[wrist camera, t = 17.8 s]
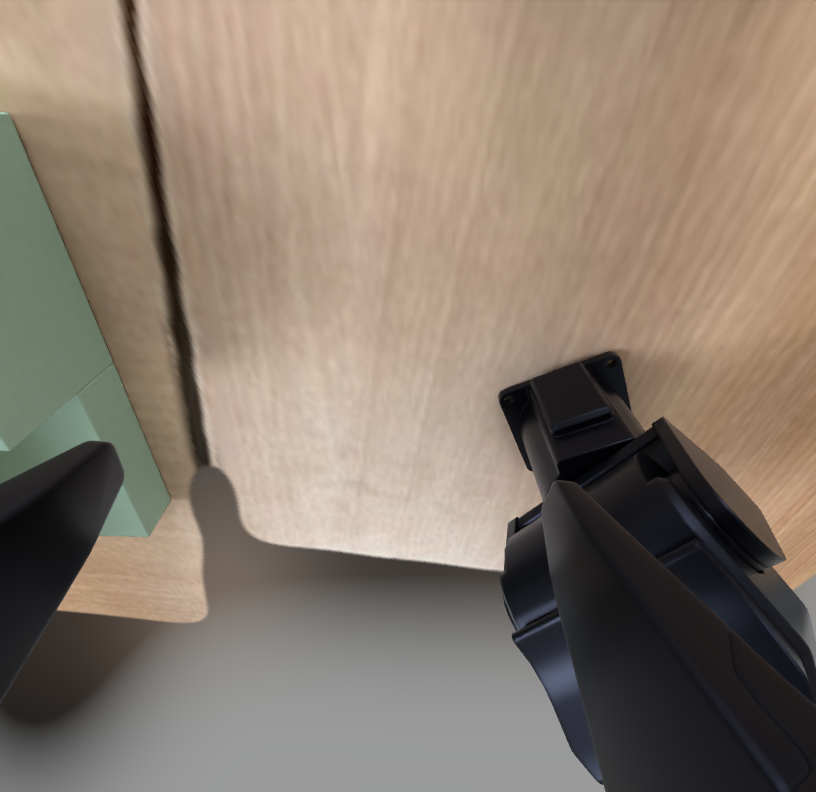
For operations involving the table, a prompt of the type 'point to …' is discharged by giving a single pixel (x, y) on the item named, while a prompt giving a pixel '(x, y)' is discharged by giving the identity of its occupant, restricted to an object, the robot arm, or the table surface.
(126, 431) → the step shelf
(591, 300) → the table surface
